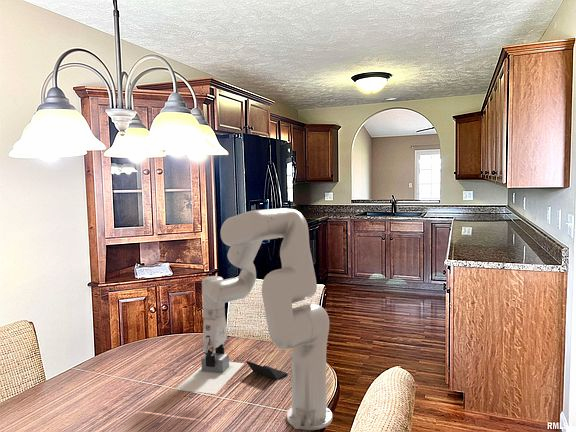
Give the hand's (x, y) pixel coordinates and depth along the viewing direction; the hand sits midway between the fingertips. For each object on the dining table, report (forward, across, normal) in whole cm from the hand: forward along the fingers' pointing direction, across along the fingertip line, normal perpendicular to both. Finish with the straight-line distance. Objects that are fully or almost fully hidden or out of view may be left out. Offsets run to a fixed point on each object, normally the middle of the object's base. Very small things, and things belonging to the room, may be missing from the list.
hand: (215, 361), depth 151 cm
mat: (+3, -5, -1) cm, 6 cm away
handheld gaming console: (+4, 0, -19) cm, 19 cm away
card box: (+3, 0, 0) cm, 3 cm away
